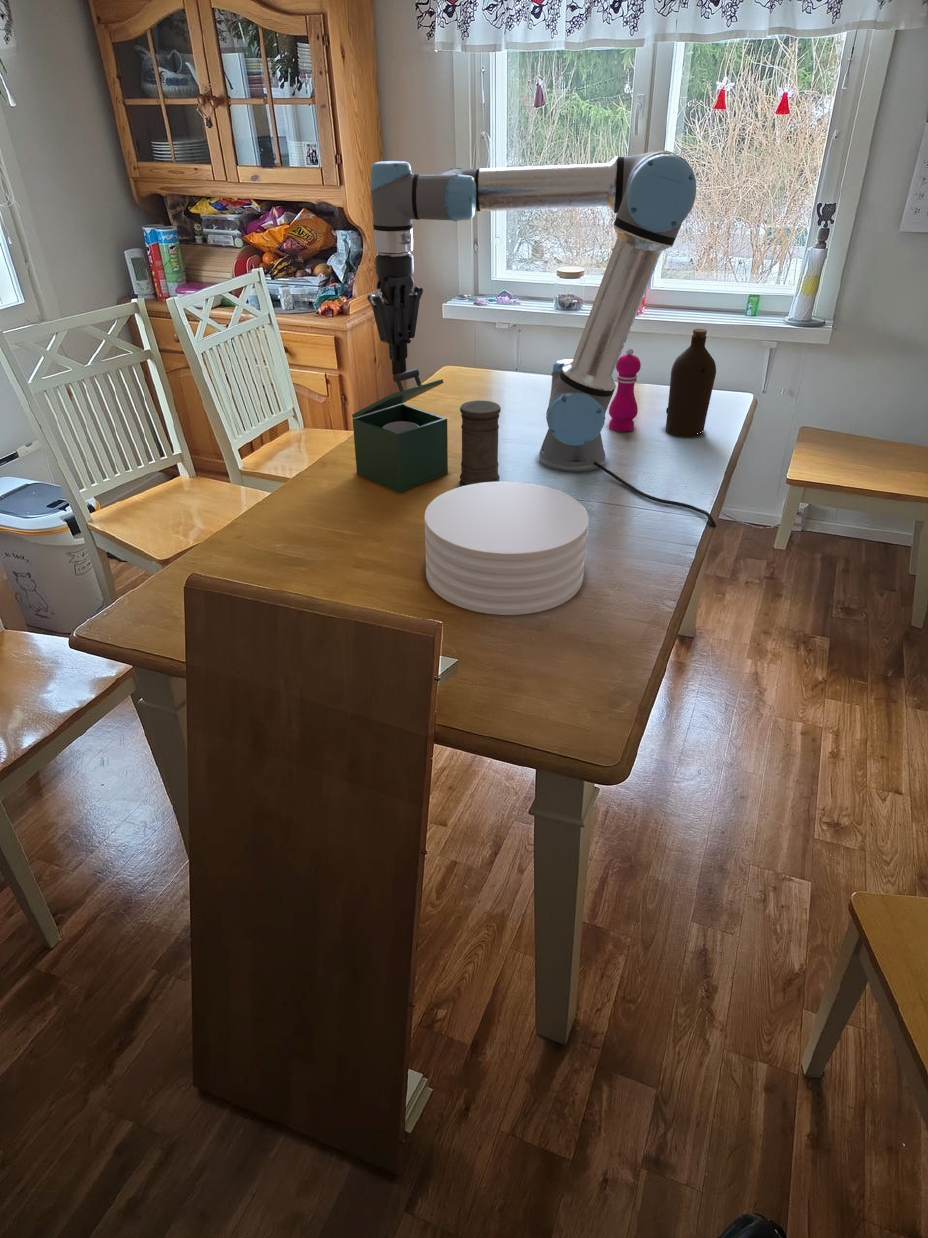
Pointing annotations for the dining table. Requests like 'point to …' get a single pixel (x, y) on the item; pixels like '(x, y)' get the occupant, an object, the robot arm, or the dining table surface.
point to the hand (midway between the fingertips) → (399, 374)
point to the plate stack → (505, 547)
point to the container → (479, 442)
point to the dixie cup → (399, 426)
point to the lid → (399, 393)
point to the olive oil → (690, 389)
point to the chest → (401, 447)
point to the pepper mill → (625, 393)
